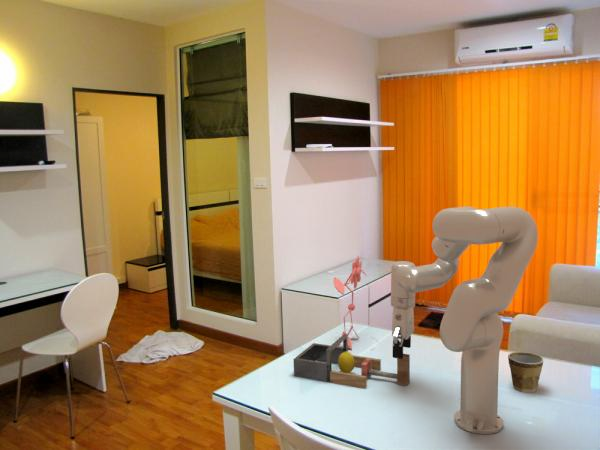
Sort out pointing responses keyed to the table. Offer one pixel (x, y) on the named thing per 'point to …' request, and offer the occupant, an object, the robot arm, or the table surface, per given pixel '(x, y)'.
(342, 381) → the lane
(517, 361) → the ceramic cup
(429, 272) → the robot arm
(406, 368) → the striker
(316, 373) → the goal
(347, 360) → the lemon
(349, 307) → the figurine
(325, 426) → the table surface
